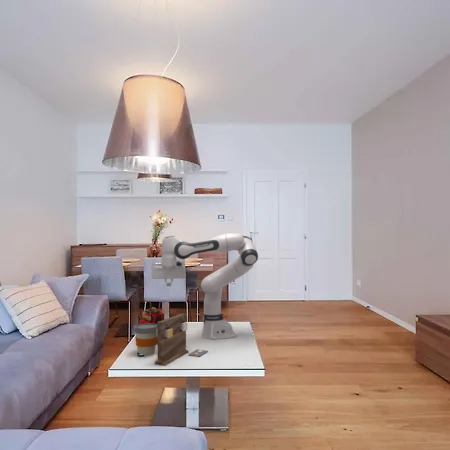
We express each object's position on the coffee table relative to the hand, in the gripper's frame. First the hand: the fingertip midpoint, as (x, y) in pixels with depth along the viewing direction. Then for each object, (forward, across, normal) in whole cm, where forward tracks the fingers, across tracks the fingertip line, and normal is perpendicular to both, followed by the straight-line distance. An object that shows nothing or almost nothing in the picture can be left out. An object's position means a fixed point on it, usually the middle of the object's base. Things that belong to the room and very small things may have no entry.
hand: (168, 286), depth 218 cm
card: (+34, +16, -21) cm, 43 cm away
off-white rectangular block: (+21, +6, -20) cm, 30 cm away
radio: (+35, -10, +6) cm, 37 cm away
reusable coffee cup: (+34, -12, -16) cm, 40 cm away
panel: (+34, +2, -26) cm, 43 cm away
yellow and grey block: (+21, -2, -32) cm, 39 cm away
